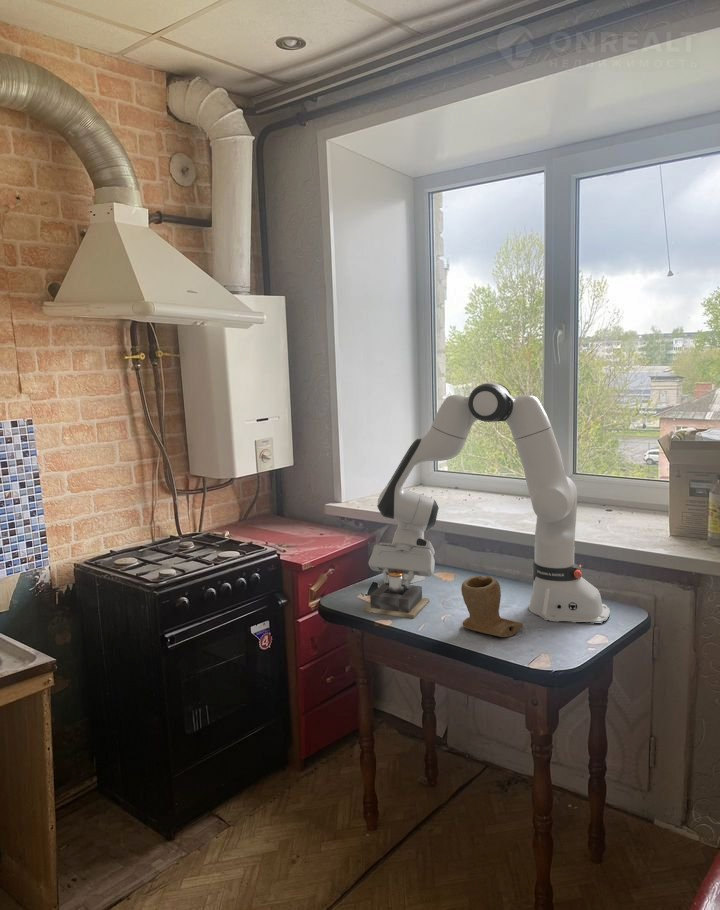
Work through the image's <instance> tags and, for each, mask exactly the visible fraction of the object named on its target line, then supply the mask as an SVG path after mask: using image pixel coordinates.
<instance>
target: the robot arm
mask: <svg viewBox="0 0 720 910" xmlns="http://www.w3.org/2000/svg"><path fill="white" fill-rule="evenodd" d="M477 421H480V422H485V423H493V422H494V423H495V422H496V423H497V422H505V423H506V424H507V425H508V427H509V430H510V432H511V434H512V438H513V441H514V444H515V446H516V450H517V452H518V455H519V458H520V461H521V464H522V467H523V468H522V469H523V472H524V476H525V480H526V485H527V489H528V493H529V497H530V501H531V505H532V509H533V512H534V514H535V515H536V522H535V531H534V533H535V534H534V560H533V562H532V580H533V585H532V591H531V592H532V593H531V596H530V601H529V604H528V610H529V611H530V612H531V613H533V614H535V615H537V616H539V617H541V618H542V619H543V618H544V619H543V620H545V621H547V620H550V621H549V622H559V621H572V622H571V623H576V622H602V621H604V620H606V619H607V618H608V617H609V614H610V615H611V610H610V608H609V607H608V606H607V604H605V603H602V597H601V596H602V595H601V593H600V591H599V590H598V588H597V587H596V586H594V585H593V584H591V582H589V581H587V580H586V579H585V578H584V577H582V575H583V570H582V565H581V564H579V565H578V564H577V563H576V562H575V549H576V547H575V540H576V527H577V526H576V525H577V523H576V522H577V508H578V488H577V485H576V483H575V482H574V481H573V480H572V479H571V478H570V477H569V476H567V474H566V470H565V466H564V463H563V457H562V452H561V450H560V447H559V444H558V441H557V437H556V435H555V432H554V429H553V427H552V424H551V421H550V418H549V417H548V415H547V412H546V410H545V408H544V407H543V405H542V403H541V401H540V400H539V398H538V397H536V395H535V396H534V395H531V394H523V395H519V396H513V395H512V394H511V391H510V390H509V389H508V387H506V386H504V385H503V384H501V383H496V382H485V383H482V384H480V385H478V386H476V387H475V388H474V389H473V390H471V392H470V394H469V396H468V397H467V396H463V395H460V394H453V395H449V396H447V397H445V399H444V400H443V402H442V404H441V405H440V406H439V408H438V411H437V413H436V415H435V417H434V419H433V421H432V424H431V427H430V428H429V430H428V431H427V432H426V434H425V435H424V436H423V437H421V438H416V439H415V440H414V441H413V442H412V443H411V444H410V446H409V447H408V450H407V451H406V453H405V454H404V456H403V457H402V458H401V461H400V463H399V464H398V466H397V468H396V469H395V471H394V473H393V475H392V476H391V478H390V479H389V481H388V482H387V484H386V486H385V488H384V489H382V491H381V492H380V494H379V496H378V499H377V505H376V507H377V509H378V512H379V513H380V514H381V516H382V517H384V518H387V519H391V520H395V521H397V528H396V529H395V532H394V534H393V538H392V541H391V543H390V542H378V543H376V544H374V546H373V548H372V552H371V555H370V557H369V560H368V566H369V568H370V569H371V570H372V571H373V572H381V573H383V577H384V580H383V584H385V585H389V572H391V571H402V572H403V573H404V574H408V575H409V576H408V577H407V579H406V580H404V579H403V583H402V586H403V587H408V585H410V584H411V583H410V582H411V581H412V580H413V579H414V576H415V575H418V576H425V577H432V576H433V574H434V572H435V565H436V564H435V563H436V561H435V557H434V556H435V549H434V547H433V544H432V543H431V541H429V540H427V539H425V538H424V539H422V534H423V531H424V532H426V531H428V530H431V528H433V527H434V526H435V524H436V521H437V516H438V513H439V509H440V508H439V505H438V503H437V501H436V499H434V498H432V497H429V496H427V495H424V494H421V493H417V492H414V491H411V490H408V489H406V488H404V487H403V486H404V484H405V483H406V482H407V480H408V477H409V475H411V472H412V471H413V469H414V468H415V467H416V466H417V465H418V464H420V463H426V462H443V461H448V460H451V459H454V458H456V457H457V456H458V455H459V454H460V453H461V452H462V450H463V448H464V446H465V444H466V442H467V438H468V436H469V433H470V431H471V429H472V427H473V425H474V423H475V422H477ZM609 618H610V617H609ZM551 620H552V621H551ZM573 621H574V622H573Z"/></svg>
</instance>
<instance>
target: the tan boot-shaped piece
mask: <svg viewBox="0 0 720 910" xmlns="http://www.w3.org/2000/svg"><path fill="white" fill-rule="evenodd" d="M501 593H502V591H501V586H500V583H499V581H498V580H497V579H496V578H495V577H493V576H491V575H488V576H486V575H485V576H482V575H476V576H472V577H470V578H467V579H465V580H464V581H463V582H462V583H461V595H462V599H463V602H464V604H465V606H466V608H467V611H468V614H469V617H467V618H465V619H464V620H463V621H462V623H461V625H462V627H464V628H466V629H468V630H471V631H474V632H477V633H478V632H479V633H481V634H486V635H490V636H495V637H500V638H509V637H512V636H514V635H515V634H517V633H519V632H521V630H522V629H523V628H524V623H521V622H520V621H519V622H518V621H514V620H509V619H506V618H503V617H501V616H500V607H501V606H500V605H501V597H502V595H501Z"/></svg>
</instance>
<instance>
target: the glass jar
mask: <svg viewBox="0 0 720 910" xmlns="http://www.w3.org/2000/svg"><path fill="white" fill-rule="evenodd" d="M388 578H389V593H390V594H398V595H403V594H404V587H403V586H402V583H403V579H404V573H403V572H402V571H391V572H389V575H388Z"/></svg>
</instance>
